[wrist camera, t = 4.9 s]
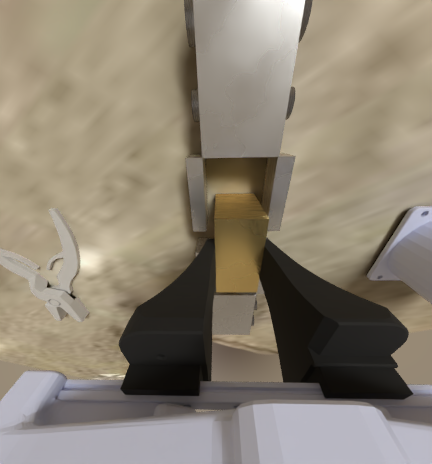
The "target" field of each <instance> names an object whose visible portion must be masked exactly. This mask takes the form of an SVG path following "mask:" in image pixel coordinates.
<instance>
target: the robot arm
mask: <svg viewBox="0 0 432 464" xmlns="http://www.w3.org/2000/svg"><path fill="white" fill-rule="evenodd" d="M367 278H368V279H370V280H402V281H403V282H404V283H405V284H407V285H408V286H409V287H410V288H412V289H413V290H414V291H416V292H417V293H418V294H419V295H421V296H422V297H423V298H424V299H426V300H427V301H428V302H430V303H431V304H432V206H417V207H413V208H411V209H410V210H409V211H408V212H407V213H406V215H405V216H404V218H403V220H402V221H401V223H400V224H399V226H398V227H397V229H396V230H395V232H394V234H393V235H392V237H391V238H390V240H389V241H388V243H387V244H386V246H385V248H384V249H383V251H382V252H381V254H380V255H379V257H378V259H377V260H376V262H375V263H374V265H373V266H372V268H371V269H370V271H369V273H368V274H367ZM259 279H260V282H261V285H262V288H263V291H264V294H265V297H266V300H267V303H268V306H269V310H270V314H271V319H272V323H273V328H274V333H275V338H276V343H277V348H278V353H279V359H280V365H281V369H282V376H283V383H282V382H280V383H279V382H214V381H211V362H212V318H213V300H214V291H215V283H216V254H215V239H207V240H206V242H205V244H204V246H203V247H202V249H201V251H200V252H199V254H198V255H197V257H196V258H195V259H194V261H193V262H192V263H191V264H190V266H189V267H188V268H187V269H186V270H185V271H184V272H183V273H182V274H181V275H180V276H179V277H178V278H177V279H176V280H175V281H174V282H173V283H171V284H170V285H169V286H168V287H167V288H165V289H164V290H163V291H161V292H160V293H159V294H157V295H156V296H154V297H153V298H151V299H150V300H148V301H147V302H145V303H143V304H142V305H140V306H139V307H137V309H136V310H135V312H134V314H133V315H132V317H131V318H130V320H129V322H128V324H127V326H126V328H125V330H124V332H123V334H122V336H121V338H120V340H119V347H120V349H121V352H122V353H123V355H124V356H125V358H126V359H127V361H128V362H129V364H130V365H129V368H128V370H127V373H126V375H125V378H124V380H81V379H67V378H66V376H65V375H64V374H62V373H60V372H57V371H51V370H28V371H25V372H24V373H23V374H22V376H21V377H20V378H19V379H18V380H17V382H16V383H15V384H14V385H13V386H12V388H11V389H10V390H9V391H8V392H7V394H6V395H5V396H4V397H3V399H2V400H1V401H0V464H432V385H414V384H406V383H405V382H404V380H403V379H402V378H401V377H400V375H399V374H398V373H397V371H396V370H395V369H394V368H397V367H398V365H397V363H396V362H395V360H394V359H393V358H392V357H391V354H392V353H394V352H395V351H396V350H397V349H398V348H399V347H401V346H402V345H403V344H404V343H405V342H406V340H407V338H408V334H409V333H408V330H407V328H406V327H405V326H404V325H403V324H402V323H401V322H400V321H399V320H398V319H397V318H396V317H395V316H394V315H393V314H392V313H391V312H390V311H389V310H388V309H387V308H385V307H383V306H380V305H378V304H375V303H373V302H370V301H368V300H366V299H363V298H361V297H358V296H356V295H354V294H351V293H349V292H347V291H345V290H343V289H341V288H339V287H337V286H335V285H333V284H331V283H329V282H327V281H325V280H323V279H322V278H320V277H318V276H316V275H315V274H313V273H311V272H310V271H308V270H307V269H305V268H304V267H302V266H301V265H299V264H298V263H297V262H295V261H294V260H292V259H291V258H290V257H289V256H287V255H286V254H285V253H284V252H283V251H281V250H280V249H279V248H278V247H277V246H276V245H274V244H273V243H272V242H271V241H270V240H269V239H267V238H266V242H265V246H264V252H263V258H262V264H261V270H260V276H259ZM195 409H211V410H219V411H207V412H196V411H195Z"/></svg>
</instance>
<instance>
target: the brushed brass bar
mask: <svg viewBox="0 0 432 464" xmlns="http://www.w3.org/2000/svg"><path fill="white" fill-rule="evenodd" d="M268 224H269V217H268V216H267V214H266V213H265V211H264V209H263V208H262V206H261V204H260V203H259V201H258V200H257V198H256V196H255V195H254V194H216V197H215V214H214V230H215V254H216V292H257V290H258V284H259V276H260V270H261V264H262V258H263V252H264V246H265V242H266V236H267V230H268Z"/></svg>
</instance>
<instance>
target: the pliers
mask: <svg viewBox="0 0 432 464" xmlns="http://www.w3.org/2000/svg"><path fill="white" fill-rule="evenodd" d="M49 212H50V215H51V217H52V219H53V221H54V224H55V226H56V229H57V232H58V234H59V237H60V241H61V244H62V249H63V251H62V252H60V253H58V254H56V255H54V256H53V257H52V258H51V259H50V260H49V261H48V264H47V270H50V269H52V267H53V263H54V261H55V259H58V258H64V263H63V266H62V268H61V270H60V271H59V273H58V275H57V279H58V282H59V285H57V286H52V287H49V288H47V283H48V281H47V280H46V279H45V278H44V277H43V276H42V275H41V274H40V273H38V272H36V271H34V270H33V269H35V270H36V269H38V268H39V267H40V266H38V265H37V264H35V263H34V262H32V261H30V260H29V259H27V258H25V257H23V256H21V255H18V254H16V253H13V252H10V251H7V250H3V249H1V248H0V264H1V265H2V266H3V267H5V268H7V269H8V270H10V271H12V272H13V273H15V274H17V275H19V276H22V277H24V278H26V279H28V280H29V285H30V289H31V293H32V294H34V295H35V296H36V297H37V298H38V299H41V300H44V301H46V302H47V303H46V305H45V306H46V308H47V309H48V310H49V312H50V313H51V314H52V316H53V317H54V318H55V320H58V321H61V320H62V319H63V318H64V317H65V316H66V314H67V313H68V314H69V315H71V316H72V317H73V318H74V319H75V320H76V321H78V322H83V320H84V319H85V317H86V316H87V315H88V313H89V311H88V310H87V308H86V307H85V306H84V304H83V303H82V302H81V300H80V299H79V297H76V298H72V297H71V296H70V293H71V292H72V291H73V287H72V281H73V278H74V277H75V276H76V274H77V273H78V271H79V268H80V254H79V249H78V245H77V242H76V239H75V237H74V234H73V232H72V230H71V228H70V226H69V225H68V223H67V222H66V220H65V218H64V217H63V215H62V214H61V213H60V211H59V210H58V208H51V209H49ZM14 259H16V260H19V261H21V262H23V263H25V264H26V265H28V266H30V267H31V268H33V269H31V268H29V267H27V266H25V265H23V264H21V263H19V262H18V261H16V260H14Z"/></svg>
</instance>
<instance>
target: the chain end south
mask: <svg viewBox="0 0 432 464" xmlns="http://www.w3.org/2000/svg"><path fill="white" fill-rule="evenodd" d="M184 7H185V20H186V29H187V37H188V42H189V46H190V47H196V61H197V78H198V89H195V90H192V92H191V100H192V112H193V118H194V122H200V131H201V148H202V154H199V155H190V156H188V157H187V158H185V159H186V168H187V178H188V187H189V197H190V206H191V215H192V225H193V231H207V224H208V203H207V182H206V161H205V158H243V157H268V158H267V165H266V173H265V180H264V188H263V195H262V203H261V206H262V208H263V209H264V211H265V213H266V214H267V216H268V217H269V224H268V230H267V231H280V226H281V222H282V217H283V212H284V208H285V203H286V198H287V194H288V189H289V184H290V180H291V175H292V170H293V166H294V161H295V156H293V155H289V154H285V153H280V149H281V143H282V137H283V131H284V125H285V120H287V119H288V118H289V116H290V114H291V112H292V109H293V105H294V101H295V88H294V87H291V83H292V77H293V71H294V65H295V59H296V53H297V47H298V43H299V42H300V41H301V39H302V37H303V35H304V33H305V30H306V27H307V24H308V20H309V16H310V12H311V7H312V0H184Z"/></svg>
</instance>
